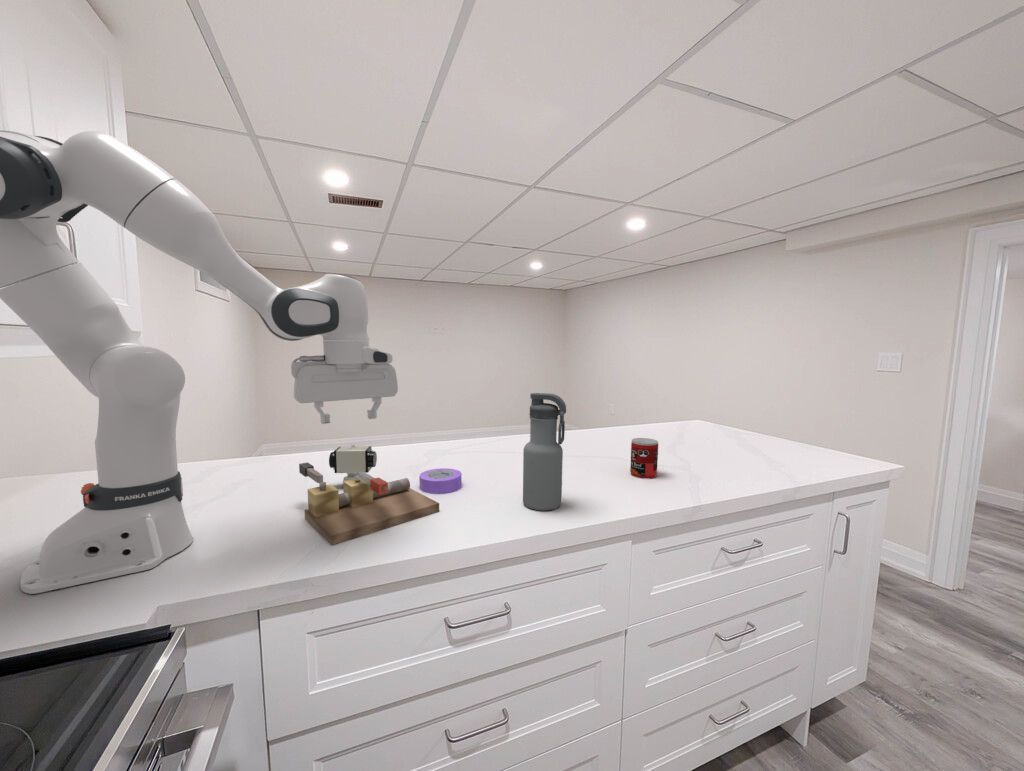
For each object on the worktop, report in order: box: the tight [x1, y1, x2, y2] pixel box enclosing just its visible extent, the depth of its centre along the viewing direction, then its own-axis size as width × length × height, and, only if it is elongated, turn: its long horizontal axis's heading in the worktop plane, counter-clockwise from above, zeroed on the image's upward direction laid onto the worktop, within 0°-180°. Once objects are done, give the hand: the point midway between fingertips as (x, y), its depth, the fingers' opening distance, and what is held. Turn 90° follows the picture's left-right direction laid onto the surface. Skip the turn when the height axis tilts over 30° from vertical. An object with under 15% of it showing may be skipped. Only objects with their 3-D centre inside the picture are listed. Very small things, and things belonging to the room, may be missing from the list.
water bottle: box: [522, 392, 567, 512], centre depth 102 cm, size 10×10×28 cm
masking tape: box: [418, 467, 463, 495], centre depth 115 cm, size 12×12×4 cm
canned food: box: [629, 437, 659, 479], centre depth 127 cm, size 8×8×11 cm
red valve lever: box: [355, 471, 389, 494], centre depth 93 cm, size 2×14×3 cm, turn 43°
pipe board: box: [298, 462, 440, 546], centre depth 99 cm, size 25×27×10 cm
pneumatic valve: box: [328, 443, 378, 482], centre depth 114 cm, size 6×12×12 cm, turn 96°
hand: (349, 420), depth 87 cm, fingers open, 8 cm apart
